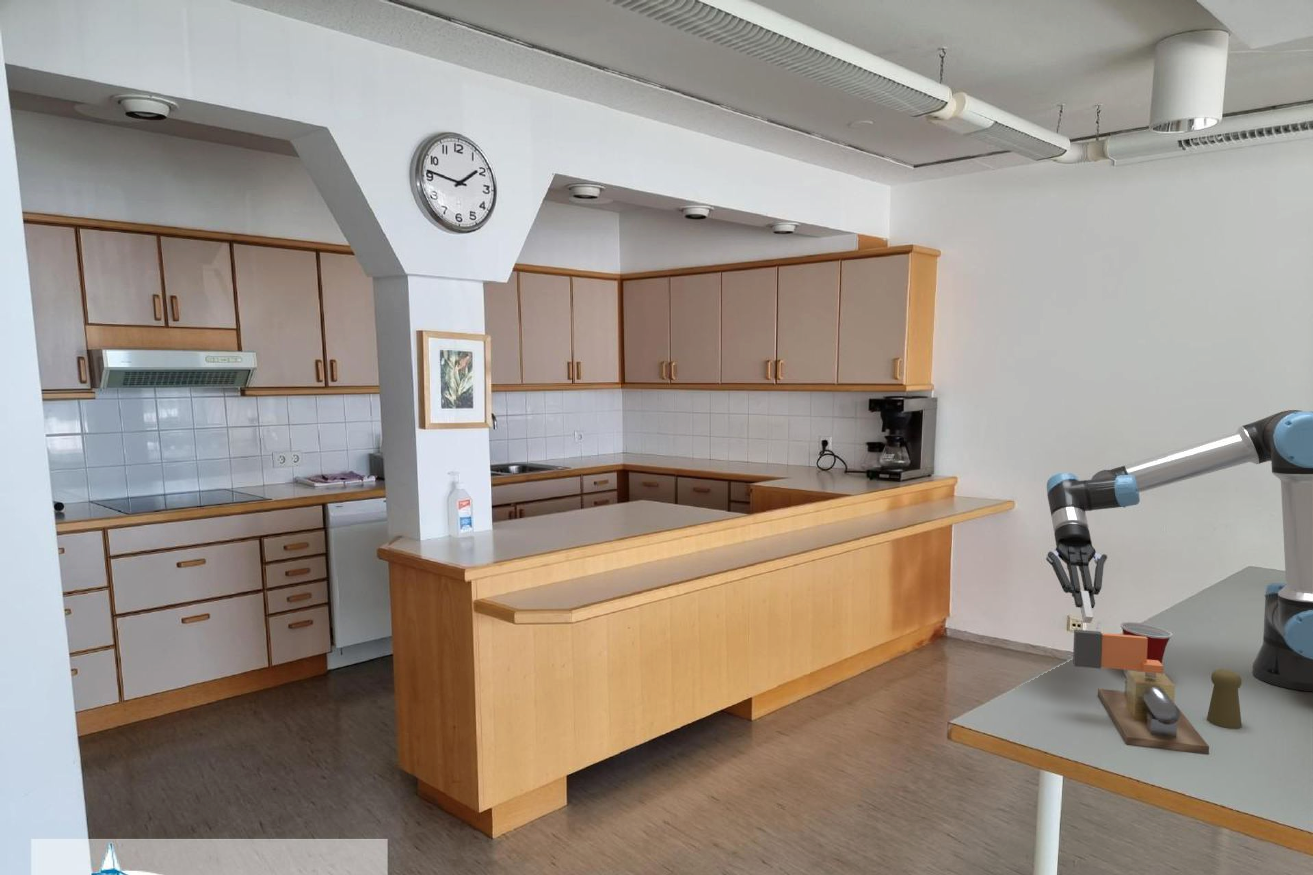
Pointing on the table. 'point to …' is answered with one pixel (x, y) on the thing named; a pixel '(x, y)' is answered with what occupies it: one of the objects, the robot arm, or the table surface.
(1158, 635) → the plastic cup
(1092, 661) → the valve lever
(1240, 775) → the table surface
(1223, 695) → the cork
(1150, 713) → the valve body
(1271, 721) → the table surface
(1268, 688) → the table surface
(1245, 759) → the table surface
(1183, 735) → the mounting board
